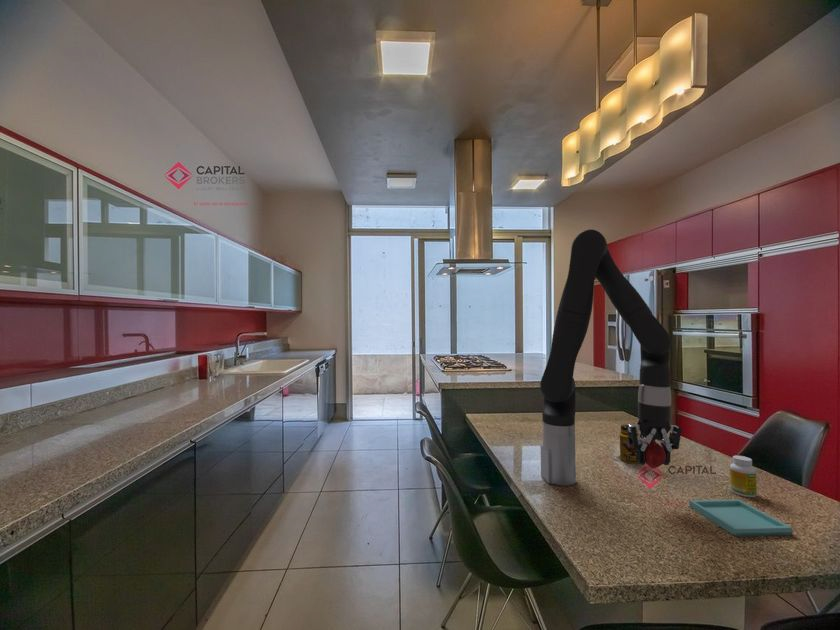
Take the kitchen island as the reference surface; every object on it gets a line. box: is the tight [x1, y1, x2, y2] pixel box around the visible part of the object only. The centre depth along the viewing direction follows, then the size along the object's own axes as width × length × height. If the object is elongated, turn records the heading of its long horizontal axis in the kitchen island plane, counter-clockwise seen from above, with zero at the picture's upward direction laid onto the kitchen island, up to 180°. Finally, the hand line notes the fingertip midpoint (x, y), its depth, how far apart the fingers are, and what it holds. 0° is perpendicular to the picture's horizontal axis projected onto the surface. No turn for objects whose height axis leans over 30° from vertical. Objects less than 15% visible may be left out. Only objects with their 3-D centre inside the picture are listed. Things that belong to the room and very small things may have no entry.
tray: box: [688, 498, 793, 537], centre depth 86 cm, size 13×13×2 cm
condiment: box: [610, 424, 641, 467], centre depth 124 cm, size 7×8×12 cm
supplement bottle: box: [729, 455, 758, 498], centre depth 100 cm, size 5×5×10 cm
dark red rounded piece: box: [645, 440, 666, 469], centre depth 97 cm, size 6×6×8 cm
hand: (653, 463), depth 97 cm, fingers closed on dark red rounded piece, 6 cm apart
